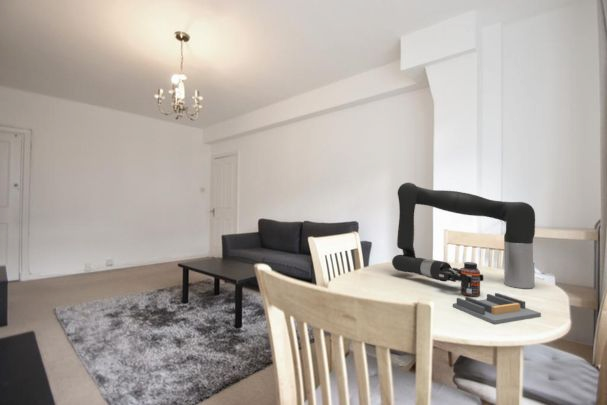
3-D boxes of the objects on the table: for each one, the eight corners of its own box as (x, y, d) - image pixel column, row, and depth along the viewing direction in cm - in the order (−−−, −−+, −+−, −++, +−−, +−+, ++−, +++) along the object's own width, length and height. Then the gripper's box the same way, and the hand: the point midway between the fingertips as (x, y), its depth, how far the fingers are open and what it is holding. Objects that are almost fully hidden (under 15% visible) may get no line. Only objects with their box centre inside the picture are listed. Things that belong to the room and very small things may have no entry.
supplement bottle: (473, 298, 100) (473, 265, 100) (457, 293, 105) (457, 262, 105) (483, 295, 103) (483, 263, 103) (467, 291, 108) (467, 260, 108)
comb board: (495, 300, 97) (495, 292, 97) (540, 316, 84) (540, 305, 84) (452, 306, 92) (452, 297, 92) (494, 324, 78) (494, 313, 78)
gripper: (423, 262, 113) (464, 270, 99) (447, 258, 120) (489, 266, 105) (423, 281, 113) (464, 292, 99) (447, 277, 120) (489, 287, 105)
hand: (477, 279), depth 102 cm, fingers closed on supplement bottle, 6 cm apart
